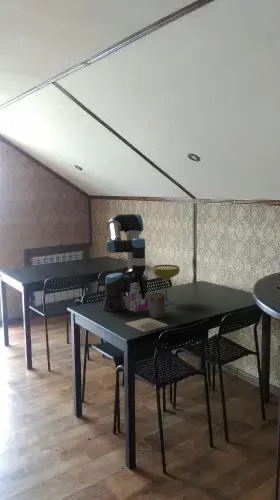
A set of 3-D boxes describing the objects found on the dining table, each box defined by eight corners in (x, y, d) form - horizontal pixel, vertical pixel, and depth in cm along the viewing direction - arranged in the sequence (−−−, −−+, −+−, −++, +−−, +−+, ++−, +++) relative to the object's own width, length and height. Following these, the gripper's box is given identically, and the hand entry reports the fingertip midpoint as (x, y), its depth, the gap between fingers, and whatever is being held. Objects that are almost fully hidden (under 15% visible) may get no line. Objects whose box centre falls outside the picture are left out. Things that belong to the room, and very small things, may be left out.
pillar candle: (164, 313, 283) (163, 290, 281) (165, 318, 273) (165, 294, 271) (148, 314, 283) (148, 291, 280) (149, 318, 273) (149, 294, 271)
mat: (124, 324, 262) (124, 323, 262) (149, 318, 273) (149, 317, 273) (143, 332, 248) (143, 331, 248) (167, 326, 259) (167, 325, 259)
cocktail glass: (154, 298, 319) (154, 264, 316) (180, 299, 317) (180, 264, 313) (151, 305, 302) (151, 269, 298) (178, 306, 299) (178, 269, 295)
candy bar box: (136, 312, 259) (135, 284, 257) (129, 310, 262) (129, 283, 260) (148, 308, 267) (148, 281, 265) (141, 306, 270) (141, 280, 268)
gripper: (124, 263, 266) (124, 300, 269) (143, 267, 251) (143, 307, 255) (134, 261, 271) (134, 299, 274) (153, 266, 256) (153, 305, 259)
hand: (139, 303), depth 264 cm, fingers closed on candy bar box, 6 cm apart
